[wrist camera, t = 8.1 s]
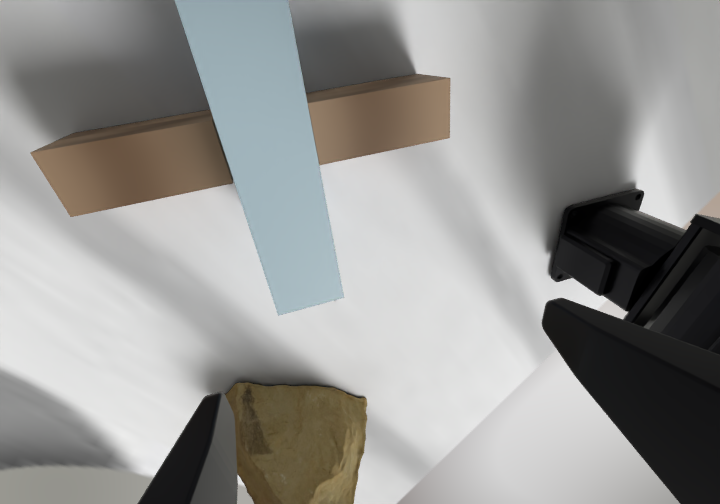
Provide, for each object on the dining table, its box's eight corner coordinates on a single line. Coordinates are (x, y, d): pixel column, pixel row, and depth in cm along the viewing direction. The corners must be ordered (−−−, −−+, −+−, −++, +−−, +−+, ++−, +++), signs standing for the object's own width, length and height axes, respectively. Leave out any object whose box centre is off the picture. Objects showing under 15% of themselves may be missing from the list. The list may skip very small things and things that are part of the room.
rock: (168, 441, 22) (259, 511, 27) (220, 515, 16) (328, 591, 20) (283, 318, 28) (342, 392, 32) (354, 337, 22) (416, 426, 26)
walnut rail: (416, 73, 18) (450, 77, 15) (418, 124, 19) (449, 137, 16) (73, 133, 15) (30, 152, 12) (103, 187, 16) (70, 216, 13)
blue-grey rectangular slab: (204, 8, 14) (163, -32, 7) (265, 0, 14) (279, -44, 8) (268, 224, 19) (278, 315, 13) (312, 214, 20) (344, 297, 13)
